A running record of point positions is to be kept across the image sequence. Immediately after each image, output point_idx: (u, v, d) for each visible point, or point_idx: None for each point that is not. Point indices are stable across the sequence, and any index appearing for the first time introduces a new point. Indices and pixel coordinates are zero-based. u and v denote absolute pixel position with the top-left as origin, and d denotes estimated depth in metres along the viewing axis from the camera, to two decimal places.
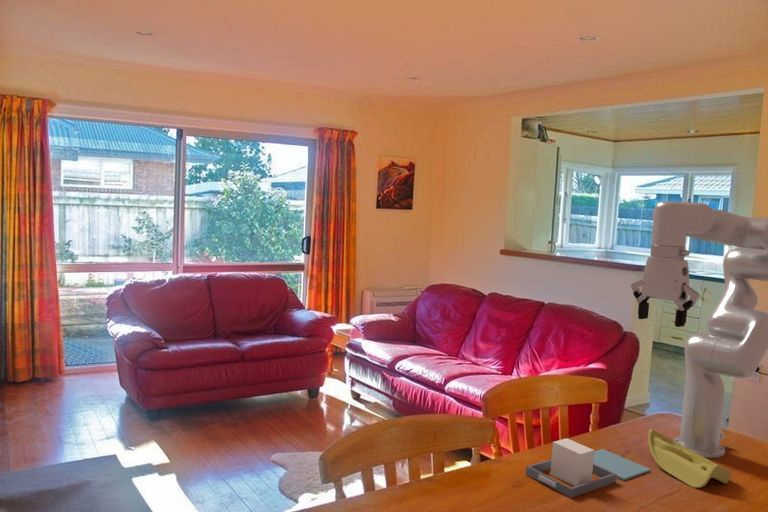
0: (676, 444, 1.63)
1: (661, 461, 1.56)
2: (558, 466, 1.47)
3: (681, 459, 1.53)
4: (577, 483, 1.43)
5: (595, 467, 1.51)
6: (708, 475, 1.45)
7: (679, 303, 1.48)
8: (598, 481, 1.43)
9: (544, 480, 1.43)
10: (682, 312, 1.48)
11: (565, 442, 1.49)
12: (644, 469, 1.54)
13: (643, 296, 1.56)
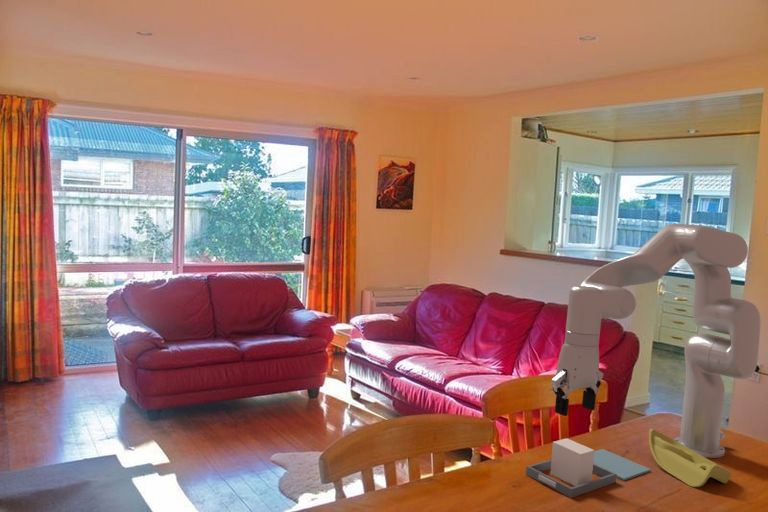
0: (677, 444, 1.64)
1: (661, 460, 1.56)
2: (558, 466, 1.47)
3: (681, 458, 1.53)
4: (577, 483, 1.43)
5: (595, 467, 1.51)
6: (706, 474, 1.45)
7: (595, 387, 1.47)
8: (598, 481, 1.43)
9: (544, 480, 1.43)
10: None
11: (565, 442, 1.49)
12: (644, 469, 1.54)
13: (569, 391, 1.42)
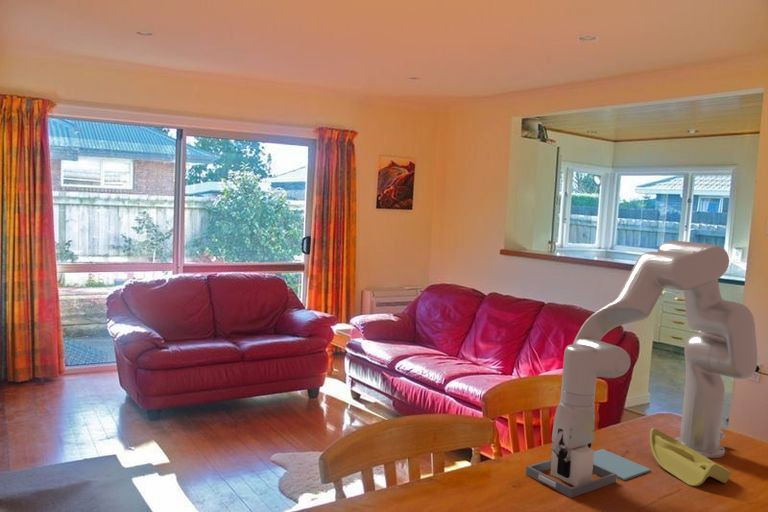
0: (679, 443, 1.64)
1: (661, 459, 1.57)
2: None
3: (680, 458, 1.54)
4: (577, 483, 1.43)
5: (595, 467, 1.51)
6: (705, 473, 1.46)
7: None
8: (598, 481, 1.43)
9: (544, 480, 1.43)
10: None
11: None
12: (644, 469, 1.54)
13: (569, 452, 1.44)
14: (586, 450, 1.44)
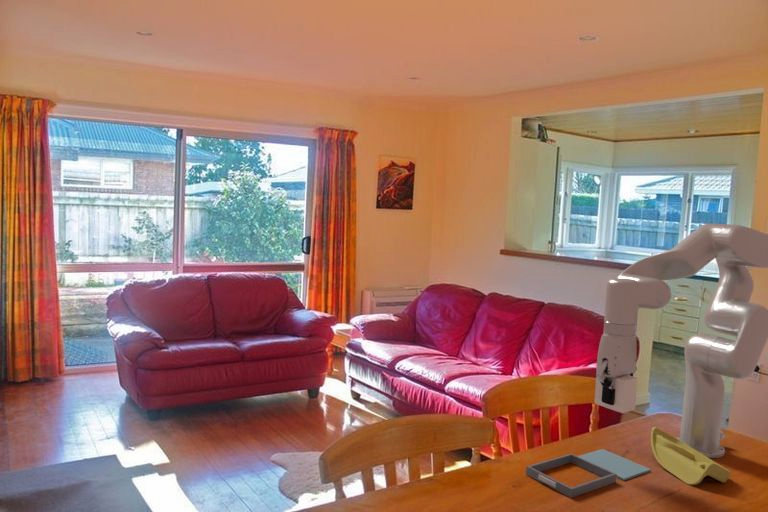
0: (681, 443, 1.64)
1: (661, 458, 1.58)
2: None
3: (680, 457, 1.55)
4: (622, 409, 1.50)
5: (595, 467, 1.51)
6: (703, 473, 1.46)
7: None
8: (598, 481, 1.43)
9: (544, 480, 1.43)
10: None
11: (608, 372, 1.55)
12: (644, 469, 1.54)
13: (614, 380, 1.51)
14: (629, 378, 1.51)
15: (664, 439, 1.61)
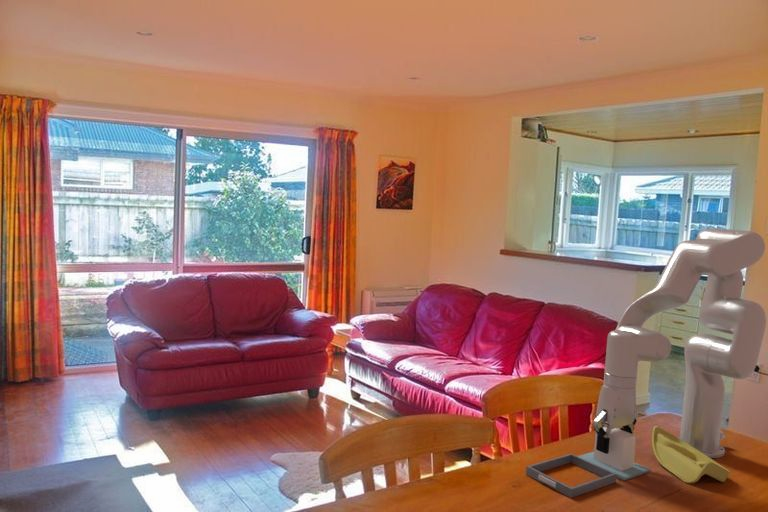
0: (682, 442, 1.65)
1: (661, 457, 1.59)
2: None
3: (679, 455, 1.55)
4: (620, 466, 1.52)
5: (595, 467, 1.51)
6: (700, 471, 1.47)
7: (632, 424, 1.57)
8: (598, 481, 1.43)
9: (544, 480, 1.43)
10: None
11: None
12: (644, 469, 1.54)
13: (610, 430, 1.52)
14: (628, 436, 1.54)
15: (665, 438, 1.62)
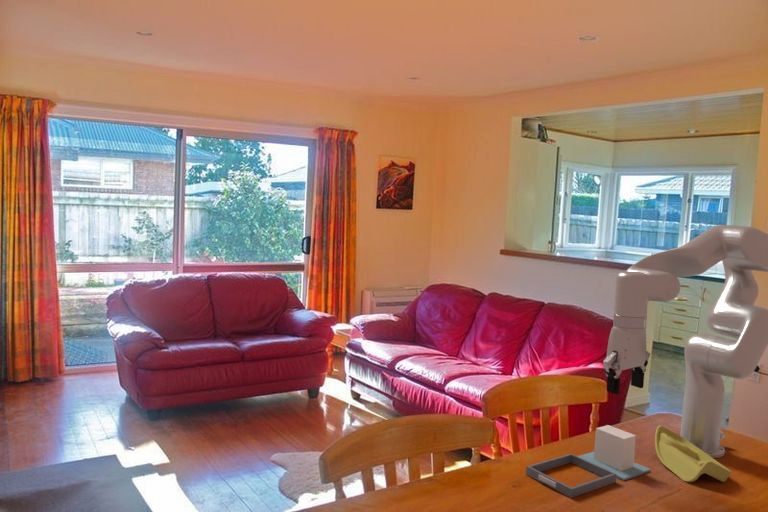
0: (687, 442, 1.65)
1: (662, 455, 1.59)
2: (601, 450, 1.57)
3: (681, 454, 1.56)
4: (620, 466, 1.52)
5: (595, 467, 1.51)
6: (699, 470, 1.48)
7: (643, 366, 1.56)
8: (598, 481, 1.43)
9: (544, 480, 1.43)
10: (642, 373, 1.57)
11: (607, 428, 1.58)
12: (644, 469, 1.54)
13: (620, 370, 1.51)
14: (628, 436, 1.54)
15: (668, 437, 1.62)
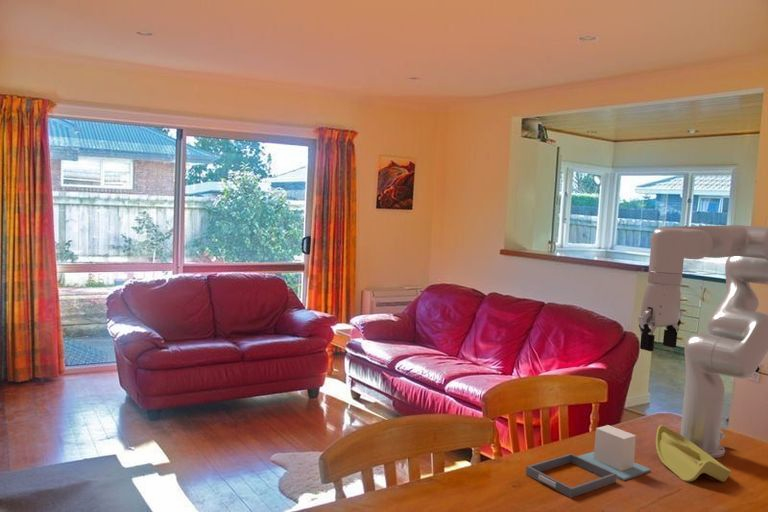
0: (688, 442, 1.65)
1: (663, 455, 1.60)
2: (601, 450, 1.57)
3: (681, 454, 1.56)
4: (620, 466, 1.52)
5: (595, 467, 1.51)
6: (698, 470, 1.48)
7: (676, 325, 1.55)
8: (598, 481, 1.43)
9: (544, 480, 1.43)
10: None
11: (607, 428, 1.58)
12: (644, 469, 1.54)
13: (655, 327, 1.50)
14: (628, 436, 1.54)
15: (669, 437, 1.62)
